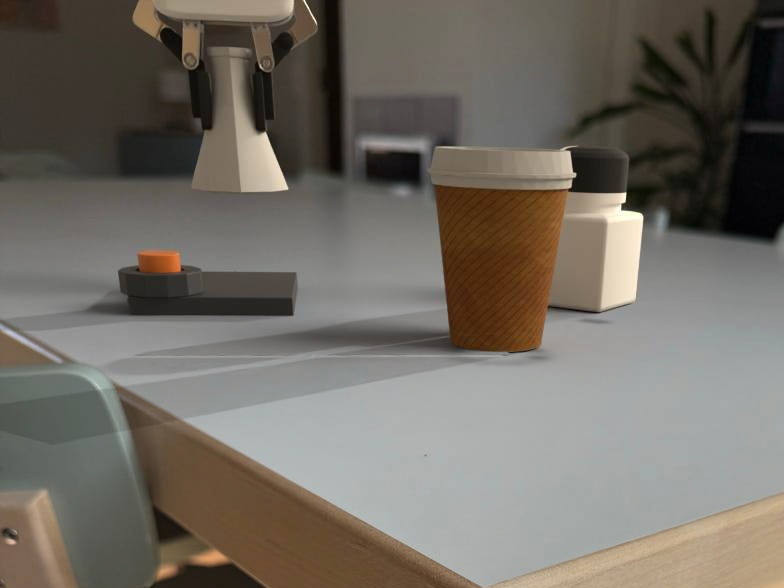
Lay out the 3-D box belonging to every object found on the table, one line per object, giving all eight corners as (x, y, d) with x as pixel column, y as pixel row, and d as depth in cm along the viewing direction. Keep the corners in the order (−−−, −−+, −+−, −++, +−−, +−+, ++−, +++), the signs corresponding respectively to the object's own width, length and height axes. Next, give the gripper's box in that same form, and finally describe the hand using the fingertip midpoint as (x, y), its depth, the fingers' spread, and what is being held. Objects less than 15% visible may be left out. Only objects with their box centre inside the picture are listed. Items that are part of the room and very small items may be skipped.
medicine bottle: (636, 302, 85) (651, 147, 79) (599, 313, 80) (613, 148, 74) (563, 294, 88) (573, 144, 83) (523, 303, 83) (531, 144, 77)
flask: (241, 197, 75) (229, 43, 70) (174, 191, 78) (158, 45, 73) (304, 193, 80) (297, 50, 76) (239, 188, 84) (228, 51, 79)
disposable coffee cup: (398, 341, 67) (396, 145, 62) (491, 325, 74) (497, 146, 68) (501, 364, 62) (509, 151, 56) (592, 345, 68) (608, 152, 63)
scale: (118, 317, 73) (112, 274, 71) (148, 287, 85) (143, 250, 84) (293, 318, 74) (291, 276, 73) (297, 288, 87) (295, 252, 85)
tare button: (136, 277, 73) (133, 255, 72) (143, 271, 75) (140, 250, 75) (178, 277, 73) (176, 255, 72) (183, 272, 76) (181, 250, 75)
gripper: (75, -189, 64) (117, 128, 73) (332, -172, 66) (342, 134, 75) (98, -161, 71) (134, 127, 79) (331, -146, 73) (341, 132, 81)
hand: (235, 127), depth 77 cm, fingers closed on flask, 3 cm apart
